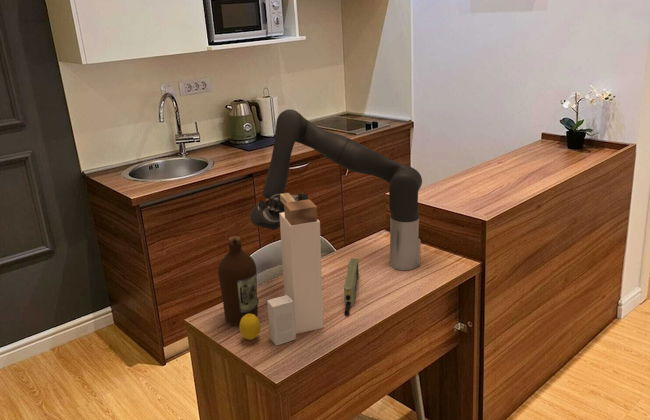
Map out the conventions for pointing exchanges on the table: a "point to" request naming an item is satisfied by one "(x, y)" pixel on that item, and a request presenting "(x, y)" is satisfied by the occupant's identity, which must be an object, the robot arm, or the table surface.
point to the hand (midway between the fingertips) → (288, 198)
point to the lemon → (249, 326)
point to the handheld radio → (351, 284)
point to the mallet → (298, 210)
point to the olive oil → (238, 283)
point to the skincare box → (281, 319)
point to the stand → (303, 272)
